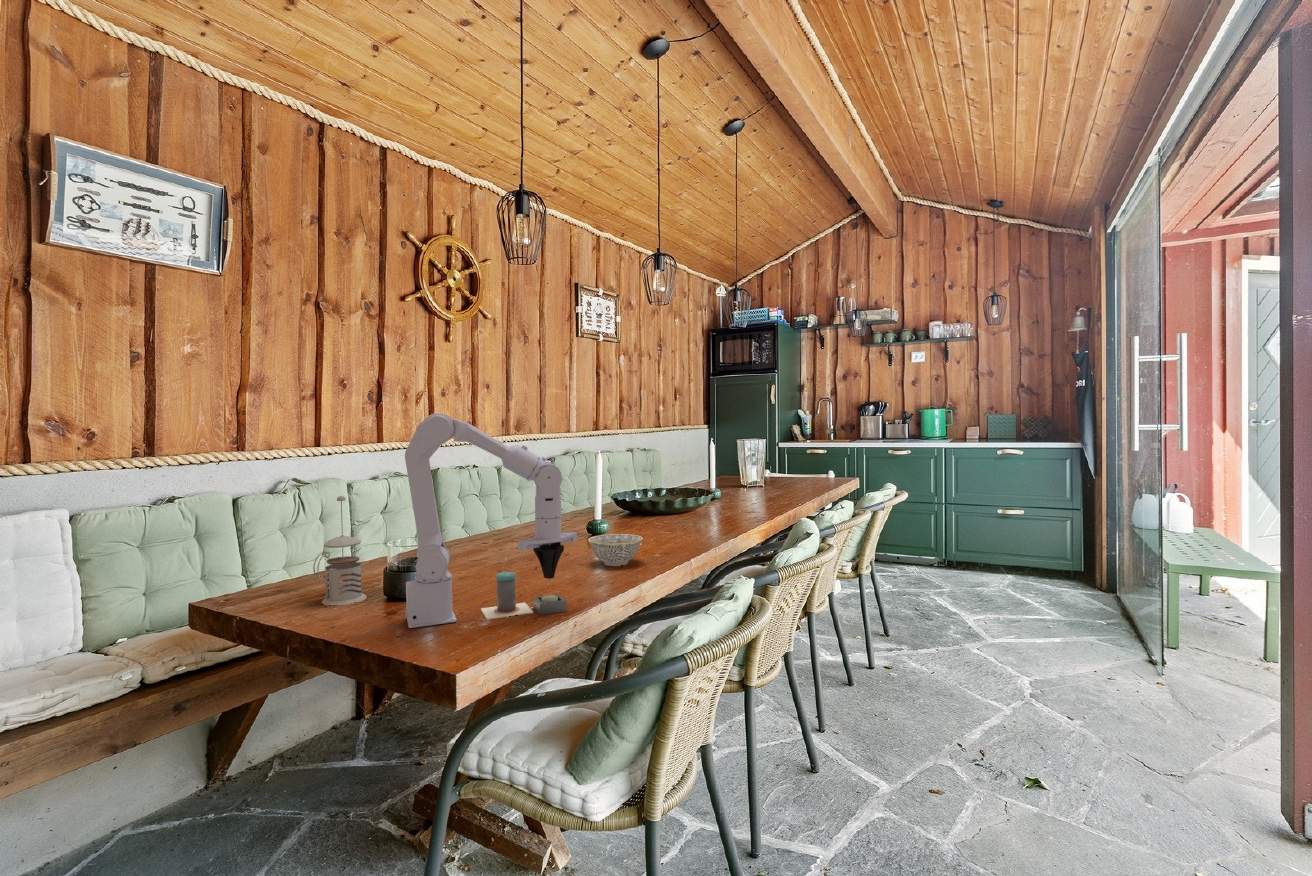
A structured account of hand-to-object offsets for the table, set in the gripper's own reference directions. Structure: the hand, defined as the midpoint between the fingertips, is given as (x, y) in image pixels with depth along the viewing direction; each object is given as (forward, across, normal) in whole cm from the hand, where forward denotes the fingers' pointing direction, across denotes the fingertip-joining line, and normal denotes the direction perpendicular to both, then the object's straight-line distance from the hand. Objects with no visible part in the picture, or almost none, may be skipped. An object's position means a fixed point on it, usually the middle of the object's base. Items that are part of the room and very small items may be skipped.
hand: (549, 577), depth 143 cm
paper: (+7, +7, -6) cm, 12 cm away
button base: (+7, 0, 0) cm, 7 cm away
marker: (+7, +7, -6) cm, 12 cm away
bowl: (+7, -40, -22) cm, 46 cm away
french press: (+8, +30, -43) cm, 53 cm away
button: (+6, 0, 0) cm, 6 cm away
